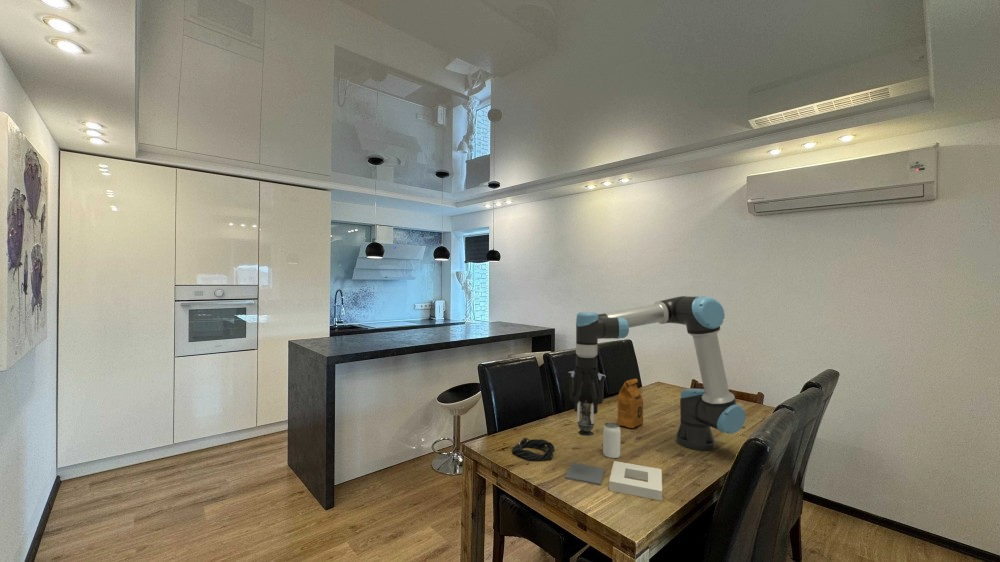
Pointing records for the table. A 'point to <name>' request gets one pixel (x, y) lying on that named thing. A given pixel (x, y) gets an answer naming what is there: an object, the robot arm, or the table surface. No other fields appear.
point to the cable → (537, 445)
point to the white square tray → (636, 487)
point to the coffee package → (630, 405)
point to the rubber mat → (585, 473)
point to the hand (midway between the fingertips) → (585, 421)
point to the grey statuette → (585, 420)
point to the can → (611, 440)
